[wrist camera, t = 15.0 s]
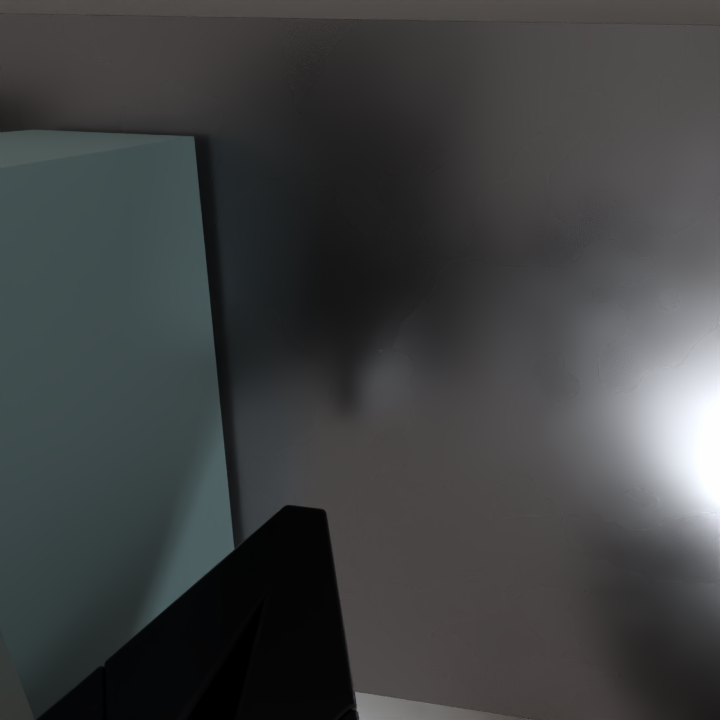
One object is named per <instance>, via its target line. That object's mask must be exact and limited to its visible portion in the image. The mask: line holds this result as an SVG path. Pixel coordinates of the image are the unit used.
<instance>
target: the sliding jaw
mask: <svg viewBox="0 0 720 720" xmlns="http://www.w3.org/2000/svg"><path fill="white" fill-rule="evenodd" d="M233 550H234V541H233V531H232V520H231V510H230V500H229V490H228V480H227V469H226V459H225V449H224V439H223V428H222V418H221V408H220V398H219V388H218V377H217V367H216V357H215V347H214V336H213V326H212V316H211V306H210V296H209V285H208V275H207V265H206V255H205V244H204V234H203V224H202V214H201V204H200V193H199V183H198V173H197V163H196V152H195V142H194V136H172V135H149V134H125V133H101V132H77V131H54V130H24V131H12V132H0V720H36V719H37V718H38V717H39V716H41V715H42V714H43V713H44V712H45V711H47V710H48V709H49V708H50V707H52V706H53V705H54V704H55V703H56V702H58V701H59V700H60V699H61V698H62V697H64V696H65V695H66V694H67V693H68V692H70V691H71V690H72V689H73V688H74V687H76V686H77V685H78V684H79V683H80V682H81V681H82V680H84V679H85V678H86V677H87V676H88V675H89V674H91V673H92V672H93V671H94V670H95V669H96V668H97V667H99V666H103V667H104V664H105V661H106V660H107V659H108V658H109V657H111V656H112V655H113V654H114V653H115V652H116V651H117V650H119V649H120V648H121V647H122V646H123V645H124V644H126V643H127V642H128V641H129V640H130V639H131V638H132V637H134V636H135V635H136V634H137V633H138V632H139V631H141V630H142V629H143V628H144V627H145V626H146V625H147V624H149V623H150V622H151V621H152V620H153V619H154V618H156V617H157V616H158V615H159V614H160V613H161V612H162V611H164V610H165V609H166V608H167V607H168V606H169V605H171V604H172V603H173V602H174V601H175V600H176V599H178V598H179V597H180V596H181V595H182V594H183V593H184V592H186V591H187V590H188V589H189V588H190V587H191V586H193V585H194V584H195V583H196V582H197V581H198V580H199V579H201V578H202V577H203V576H204V575H205V574H206V573H208V572H209V571H210V570H211V569H212V568H213V567H214V566H216V565H217V564H218V563H219V562H220V561H221V560H223V559H224V558H225V557H226V556H227V555H228V554H229V553H231V552H232V551H233Z"/></svg>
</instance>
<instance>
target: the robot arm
mask: <svg viewBox="0 0 720 720" xmlns="http://www.w3.org/2000/svg"><path fill="white" fill-rule="evenodd" d="M356 708H357V704H356V698H355V692H354V685H353V679H352V672H351V666H350V659H349V653H348V647H347V640H346V634H345V627H344V621H343V615H342V608H341V602H340V595H339V589H338V582H337V576H336V570H335V563H334V557H333V550H332V544H331V537H330V531H329V525H328V518H327V513H326V511H325V510H324V509H320V508H312V507H304V506H296V505H286V506H284V507H283V508H281V509H280V510H279V511H278V512H277V513H276V514H274V515H273V516H272V517H271V518H270V519H269V520H268V521H266V522H265V523H264V524H263V525H262V526H261V527H259V528H258V529H257V530H256V531H255V532H254V533H253V534H251V535H250V536H249V537H248V538H247V539H246V540H244V541H243V542H242V543H241V544H240V545H239V546H238V547H236V548H235V549H234V550H233V551H232V552H231V553H229V554H228V555H227V556H226V557H225V558H224V559H223V560H221V561H220V562H219V563H218V564H217V565H216V566H214V567H213V568H212V569H211V570H210V571H209V572H208V573H206V574H205V575H204V576H203V577H202V578H201V579H199V580H198V581H197V582H196V583H195V584H194V585H193V586H191V587H190V588H189V589H188V590H187V591H186V592H184V593H183V594H182V595H181V596H180V597H179V598H178V599H176V600H175V601H174V602H173V603H172V604H171V605H169V606H168V607H167V608H166V609H165V610H164V611H162V612H161V613H160V614H159V615H158V616H157V617H156V618H154V619H153V620H152V621H151V622H150V623H149V624H147V625H146V626H145V627H144V628H143V629H142V630H141V631H139V632H138V633H137V634H136V635H135V636H134V637H132V638H131V639H130V640H129V641H128V642H127V643H126V644H124V645H123V646H122V647H121V648H120V649H119V650H117V651H116V652H115V653H114V654H113V655H112V656H111V657H109V658H108V659H107V660H106V661H105V664H104V667H103V666H99V667H97V668H96V669H95V670H94V671H93V672H92V673H91V674H89V675H88V676H87V677H86V678H85V679H84V680H82V681H81V682H80V683H79V684H78V685H77V686H76V687H74V688H73V689H72V690H71V691H70V692H68V693H67V694H66V695H65V696H64V697H62V698H61V699H60V700H59V701H58V702H56V703H55V704H54V705H53V706H52V707H50V708H49V709H48V710H47V711H45V712H44V713H43V714H42V715H41V716H39V717H38V718H37V719H36V720H359V715H358V712H357V711H356Z"/></svg>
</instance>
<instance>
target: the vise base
mask: <svg viewBox="0 0 720 720" xmlns="http://www.w3.org/2000/svg"><path fill="white" fill-rule="evenodd" d="M24 130H54V131H77V132H101V133H125V134H149V135H172V136H194V142H195V152H196V163H197V173H198V183H199V193H200V204H201V214H202V224H203V234H204V244H205V255H206V265H207V275H208V285H209V296H210V306H211V316H212V326H213V336H214V347H215V357H216V367H217V377H218V388H219V398H220V408H221V418H222V428H223V439H224V449H225V459H226V469H227V480H228V490H229V500H230V510H231V520H232V531H233V541H234V549H235V548H236V547H238V546H239V545H240V544H241V543H242V542H243V541H244V540H246V539H247V538H248V537H249V536H250V535H251V534H253V533H254V532H255V531H256V530H257V529H258V528H259V527H261V526H262V525H263V524H264V523H265V522H266V521H268V520H269V519H270V518H271V517H272V516H273V515H274V514H276V513H277V512H278V511H279V510H280V509H281V508H283V507H284V506H286V505H296V506H304V507H312V508H320V509H324V510H325V511H326V513H327V518H328V525H329V531H330V537H331V544H332V550H333V557H334V563H335V570H336V576H337V582H338V589H339V595H340V602H341V608H342V615H343V621H344V627H345V634H346V640H347V647H348V653H349V659H350V666H351V672H352V679H353V685H354V691H355V692H362V693H368V694H375V695H381V696H387V697H394V698H400V699H407V700H413V701H420V702H426V703H432V704H439V705H445V706H452V707H458V708H465V709H471V710H477V711H484V712H490V713H497V714H503V715H510V716H516V717H522V718H529V719H535V720H720V25H662V24H602V23H541V22H480V21H419V20H359V19H298V18H237V17H176V16H115V15H55V14H0V132H12V131H24Z"/></svg>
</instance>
